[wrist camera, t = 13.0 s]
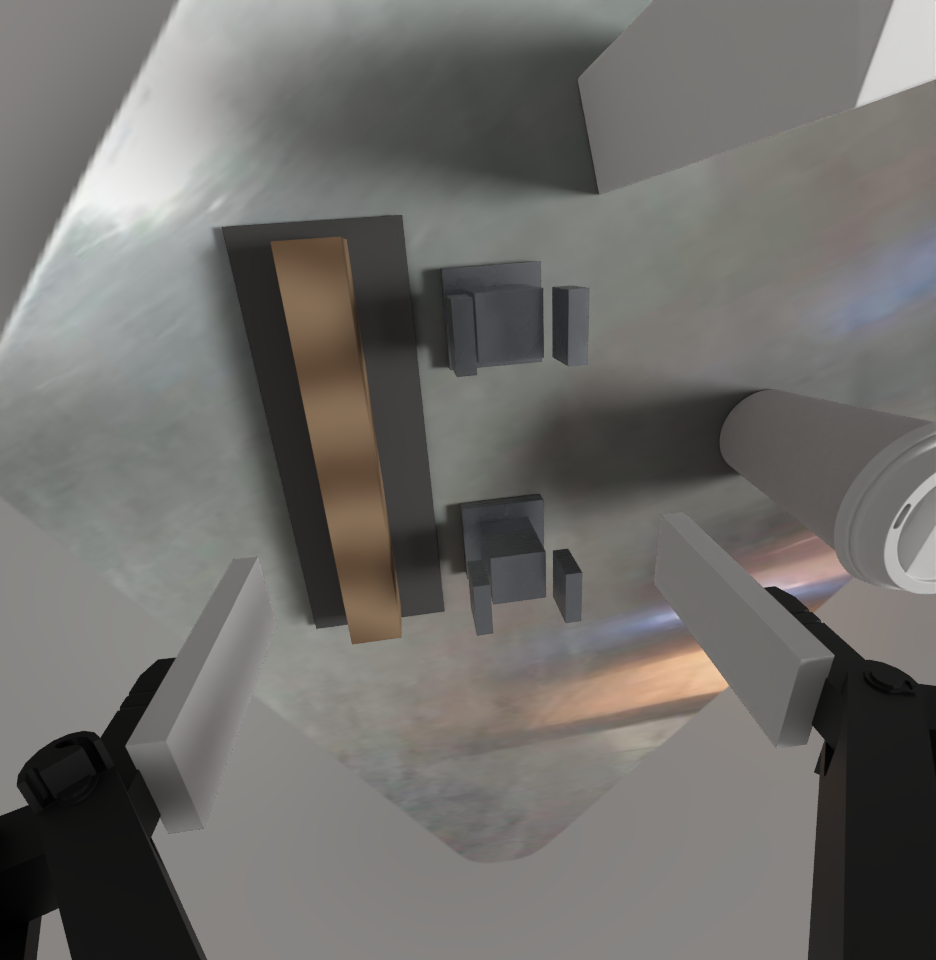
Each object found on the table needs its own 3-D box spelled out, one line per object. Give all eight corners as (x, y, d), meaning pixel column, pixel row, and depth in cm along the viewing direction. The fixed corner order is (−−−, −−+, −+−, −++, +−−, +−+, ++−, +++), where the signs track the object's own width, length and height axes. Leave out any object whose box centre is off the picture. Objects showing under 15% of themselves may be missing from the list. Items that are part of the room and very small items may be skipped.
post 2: (456, 503, 37) (471, 569, 29) (543, 493, 38) (582, 555, 30) (462, 572, 40) (478, 650, 32) (544, 561, 40) (580, 636, 32)
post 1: (435, 269, 31) (448, 271, 23) (541, 260, 32) (589, 260, 24) (444, 367, 33) (458, 400, 25) (542, 358, 34) (586, 387, 26)
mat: (225, 227, 29) (221, 227, 28) (401, 215, 30) (402, 214, 29) (317, 623, 40) (316, 628, 39) (443, 606, 41) (444, 611, 40)
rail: (284, 243, 29) (270, 241, 26) (346, 239, 29) (340, 236, 26) (355, 613, 39) (352, 644, 36) (401, 607, 40) (401, 637, 36)
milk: (575, 79, 28) (1012, -393, 8) (679, 41, 28) (1386, -534, 8) (598, 198, 31) (977, 66, 10) (694, 163, 31) (1262, -37, 10)
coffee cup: (765, 341, 36) (995, 391, 22) (844, 413, 39) (1090, 495, 25) (674, 451, 38) (829, 557, 24) (755, 510, 41) (934, 634, 27)
